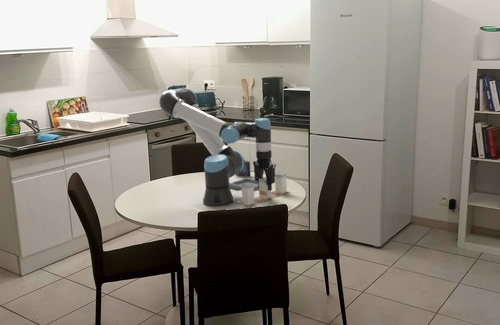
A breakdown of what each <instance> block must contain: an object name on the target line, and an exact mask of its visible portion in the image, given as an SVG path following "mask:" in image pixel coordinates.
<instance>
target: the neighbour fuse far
mask: <svg viewBox="0 0 500 325" xmlns="http://www.w3.org/2000/svg"><path fill="white" fill-rule="evenodd" d="M274 184H275V185H274V187H275V191H276V193H280V194H283V193H285V192H288V191H287V172H280V171H279V172H277V173H276V172H275V183H274Z"/></svg>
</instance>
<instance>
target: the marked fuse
mask: <svg viewBox="0 0 500 325" xmlns="http://www.w3.org/2000/svg"><path fill="white" fill-rule="evenodd" d="M269 182H270V181H269ZM266 184H267V180H266V176H263V178H260V179H259V189H258V195H259V194H260V195H259V196H260V198H261V199H265V200H266V199H268V198H271V196H270V197H266Z"/></svg>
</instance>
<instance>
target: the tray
mask: <svg viewBox="0 0 500 325" xmlns="http://www.w3.org/2000/svg"><path fill="white" fill-rule="evenodd" d="M247 182H249V183H253V184H254V191H256V190H259V188H258V182H257V181H255V178H254V179H253V178H249V177H245V178H242V179H238V180H236V181H232V182H229V187H230V189H232V190H236V191H242V184H244V183H247Z"/></svg>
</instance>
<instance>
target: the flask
mask: <svg viewBox="0 0 500 325" xmlns="http://www.w3.org/2000/svg"><path fill="white" fill-rule="evenodd" d="M243 159H244V166H243V169H242V170H241V171H240V172H239V173H238V174H237V175H236V176H237V177H246V178H249V177H251V164H250V163H251V162H250V160H247V159H246V160H245V157H243Z"/></svg>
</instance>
